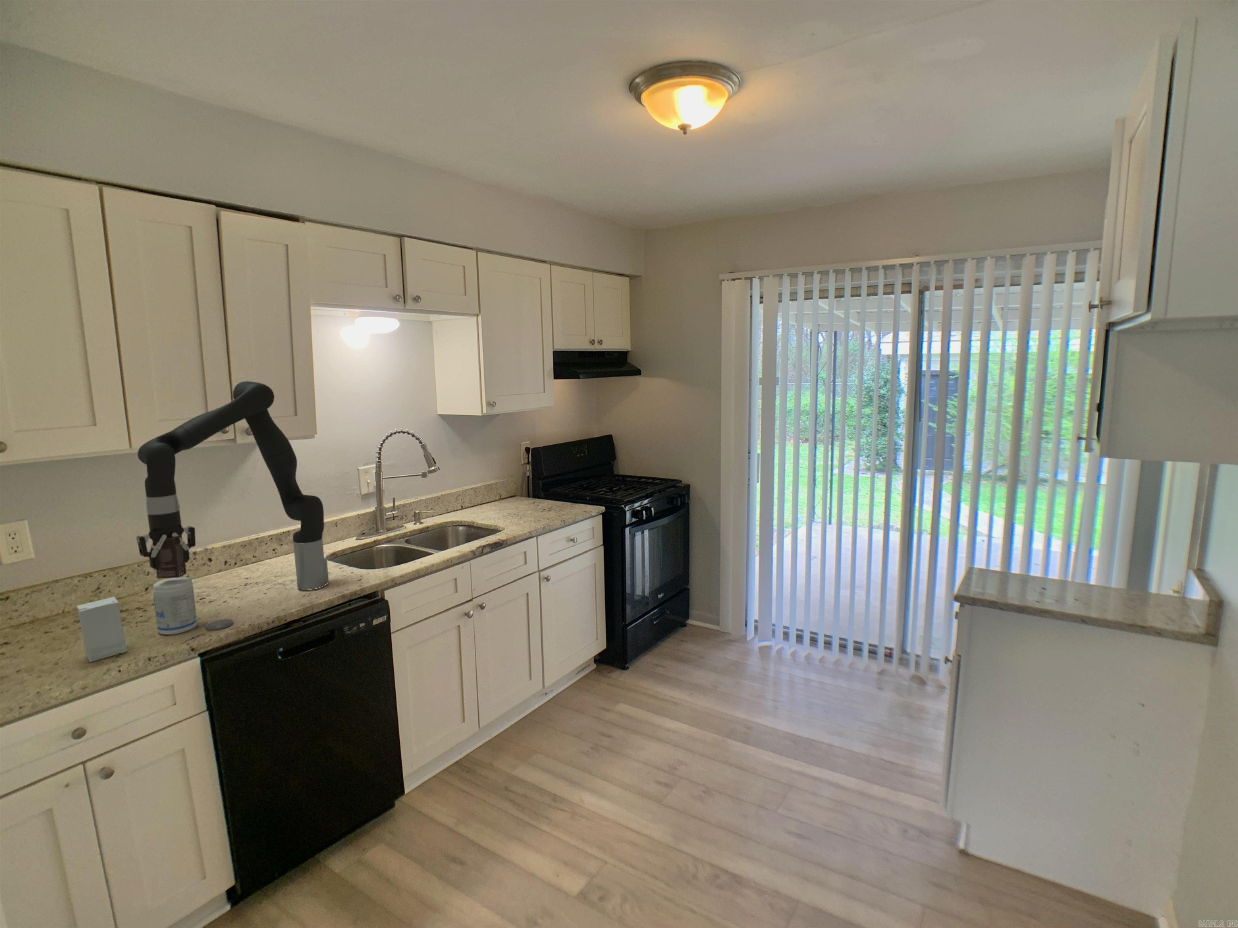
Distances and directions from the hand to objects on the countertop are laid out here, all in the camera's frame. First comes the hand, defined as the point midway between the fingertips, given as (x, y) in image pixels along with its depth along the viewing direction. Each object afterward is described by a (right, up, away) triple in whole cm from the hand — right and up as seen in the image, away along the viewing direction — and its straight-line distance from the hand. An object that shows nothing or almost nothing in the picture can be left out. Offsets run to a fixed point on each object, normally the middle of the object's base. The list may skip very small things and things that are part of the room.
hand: (170, 565), depth 178 cm
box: (0, -3, +1) cm, 4 cm away
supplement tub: (0, -20, +3) cm, 20 cm away
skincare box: (-8, -22, -14) cm, 27 cm away
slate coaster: (+11, -19, +5) cm, 23 cm away
